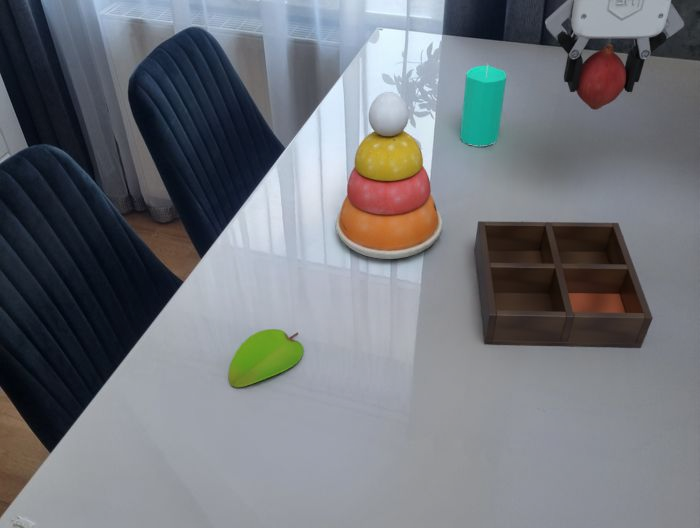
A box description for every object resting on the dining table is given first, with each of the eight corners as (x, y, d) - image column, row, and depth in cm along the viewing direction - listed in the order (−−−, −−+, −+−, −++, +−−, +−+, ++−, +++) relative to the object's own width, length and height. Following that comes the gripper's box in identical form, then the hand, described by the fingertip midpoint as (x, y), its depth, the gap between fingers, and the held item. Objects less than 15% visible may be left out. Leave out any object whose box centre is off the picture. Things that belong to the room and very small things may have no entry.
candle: (483, 151, 107) (493, 76, 98) (452, 139, 110) (459, 64, 101) (505, 136, 110) (516, 62, 101) (474, 125, 113) (482, 51, 104)
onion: (562, 112, 85) (575, 47, 80) (581, 94, 89) (594, 30, 83) (607, 124, 83) (623, 58, 77) (625, 105, 86) (641, 40, 80)
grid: (609, 251, 88) (618, 222, 85) (641, 347, 76) (652, 318, 73) (474, 250, 90) (478, 221, 86) (484, 344, 78) (489, 315, 74)
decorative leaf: (311, 377, 75) (311, 371, 75) (231, 391, 74) (230, 386, 73) (296, 327, 80) (296, 321, 79) (221, 340, 78) (220, 334, 78)
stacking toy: (455, 257, 89) (470, 116, 74) (348, 274, 87) (342, 133, 73) (424, 197, 98) (432, 63, 84) (327, 211, 96) (319, 76, 82)
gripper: (557, -70, 69) (530, 101, 82) (735, -73, 67) (679, 101, 80) (549, -90, 74) (524, 73, 87) (714, -93, 73) (664, 73, 86)
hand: (599, 85), depth 84 cm, fingers closed on onion, 5 cm apart
